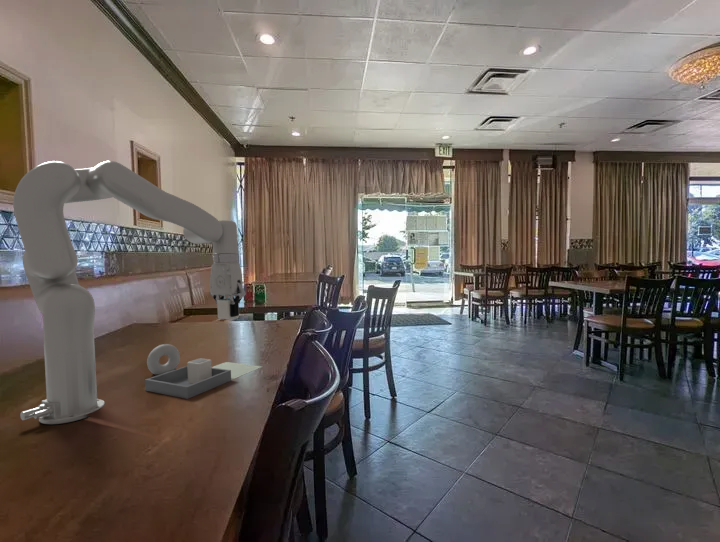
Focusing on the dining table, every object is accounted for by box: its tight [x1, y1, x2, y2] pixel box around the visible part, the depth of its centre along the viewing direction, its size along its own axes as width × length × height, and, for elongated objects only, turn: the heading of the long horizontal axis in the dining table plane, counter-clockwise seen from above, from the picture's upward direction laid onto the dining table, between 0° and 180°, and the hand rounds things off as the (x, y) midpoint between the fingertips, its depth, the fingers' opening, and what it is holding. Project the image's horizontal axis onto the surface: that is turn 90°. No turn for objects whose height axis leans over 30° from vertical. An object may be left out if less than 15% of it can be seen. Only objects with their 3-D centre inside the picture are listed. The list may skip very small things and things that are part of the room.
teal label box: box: [216, 297, 240, 320], centre depth 118 cm, size 5×5×6 cm
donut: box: [146, 343, 181, 376], centre depth 117 cm, size 10×4×10 cm, turn 143°
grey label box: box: [186, 358, 213, 384], centre depth 107 cm, size 5×5×6 cm
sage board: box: [212, 361, 262, 380], centre depth 118 cm, size 13×16×1 cm
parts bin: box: [144, 365, 232, 400], centre depth 104 cm, size 15×17×4 cm
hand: (228, 315), depth 118 cm, fingers closed on teal label box, 4 cm apart
